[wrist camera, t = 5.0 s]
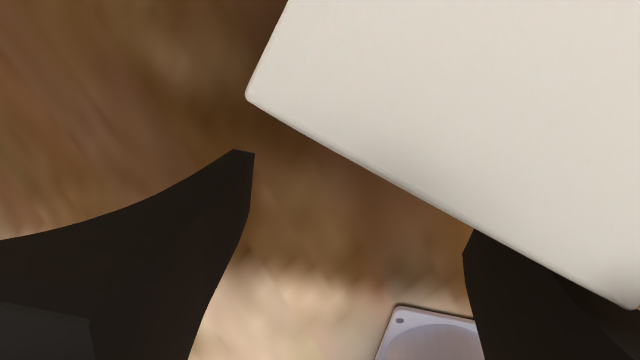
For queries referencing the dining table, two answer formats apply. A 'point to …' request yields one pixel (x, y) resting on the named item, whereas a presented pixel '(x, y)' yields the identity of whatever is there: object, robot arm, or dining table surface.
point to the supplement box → (481, 116)
